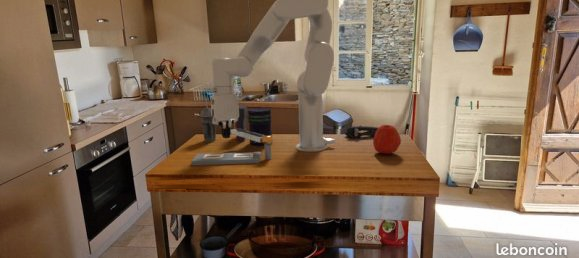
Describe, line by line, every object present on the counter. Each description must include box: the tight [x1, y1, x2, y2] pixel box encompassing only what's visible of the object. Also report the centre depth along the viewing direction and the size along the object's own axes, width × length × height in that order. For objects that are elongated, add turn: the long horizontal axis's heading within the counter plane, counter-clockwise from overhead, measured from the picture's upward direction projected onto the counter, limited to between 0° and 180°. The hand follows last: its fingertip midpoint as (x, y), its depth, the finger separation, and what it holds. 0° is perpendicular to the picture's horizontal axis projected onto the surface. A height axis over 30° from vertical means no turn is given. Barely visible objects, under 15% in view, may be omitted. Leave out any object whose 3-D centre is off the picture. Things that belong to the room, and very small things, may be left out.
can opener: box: [344, 124, 379, 139], centre depth 175 cm, size 18×7×6 cm, turn 97°
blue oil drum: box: [247, 107, 273, 148], centre depth 166 cm, size 10×10×15 cm
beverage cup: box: [199, 97, 217, 143], centre depth 172 cm, size 7×7×20 cm
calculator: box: [235, 104, 248, 142], centre depth 176 cm, size 11×4×15 cm, turn 0°
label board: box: [191, 143, 272, 166], centre depth 144 cm, size 28×10×6 cm, turn 91°
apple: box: [372, 124, 402, 154], centre depth 149 cm, size 10×10×10 cm
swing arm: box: [230, 128, 273, 144], centre depth 152 cm, size 26×4×2 cm, turn 37°
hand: (226, 137), depth 153 cm, fingers closed
